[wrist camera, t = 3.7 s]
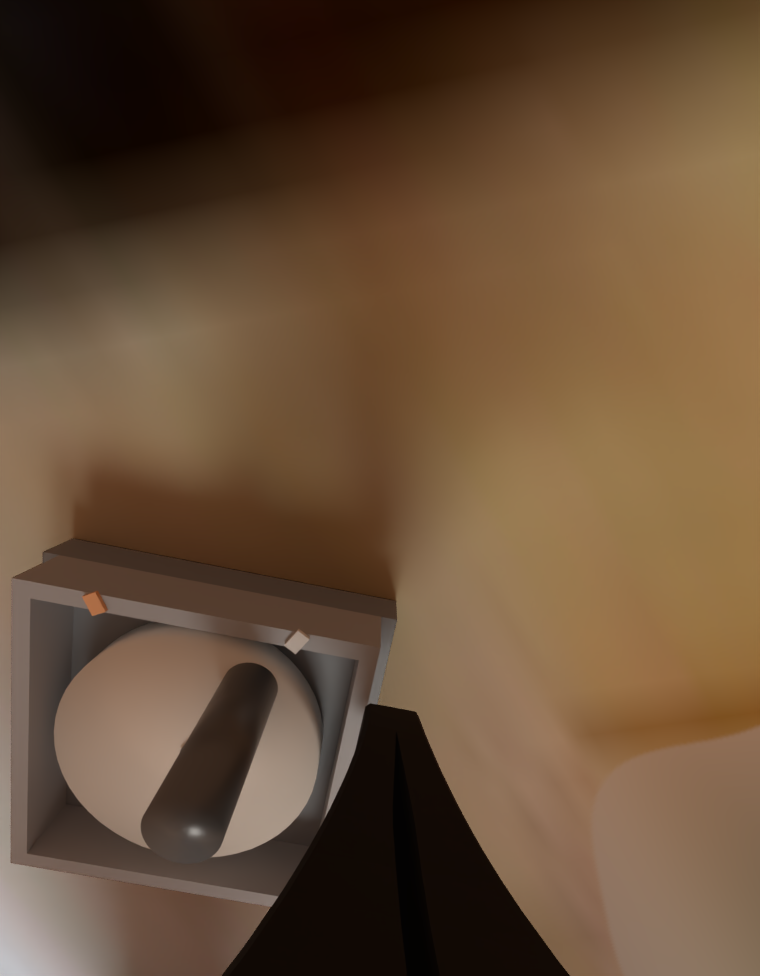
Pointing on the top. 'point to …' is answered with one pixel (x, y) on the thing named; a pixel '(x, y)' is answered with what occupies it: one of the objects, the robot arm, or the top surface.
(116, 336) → the top surface
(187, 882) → the dial plate
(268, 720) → the dial
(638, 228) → the top surface
